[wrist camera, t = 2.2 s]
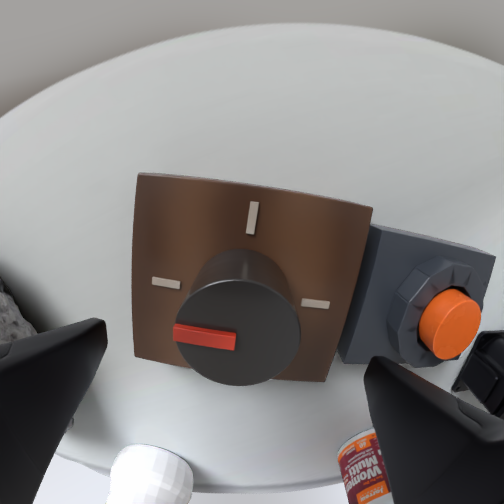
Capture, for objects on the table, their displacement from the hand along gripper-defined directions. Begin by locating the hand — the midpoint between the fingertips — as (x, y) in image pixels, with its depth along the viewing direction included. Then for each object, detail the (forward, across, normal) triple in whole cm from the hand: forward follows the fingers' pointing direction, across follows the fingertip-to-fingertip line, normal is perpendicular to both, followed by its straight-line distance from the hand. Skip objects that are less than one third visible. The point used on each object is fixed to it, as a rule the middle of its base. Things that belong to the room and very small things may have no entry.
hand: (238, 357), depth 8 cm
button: (+4, -11, 0) cm, 12 cm away
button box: (+8, -11, 0) cm, 14 cm away
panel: (+8, 0, 0) cm, 8 cm away
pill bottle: (+8, -14, +16) cm, 23 cm away
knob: (+5, 0, 0) cm, 5 cm away
